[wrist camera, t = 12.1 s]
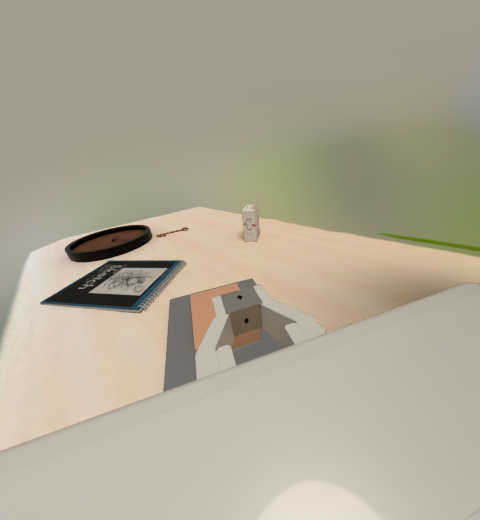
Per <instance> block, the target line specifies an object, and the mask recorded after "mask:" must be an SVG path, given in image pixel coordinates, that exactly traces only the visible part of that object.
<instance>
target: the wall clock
mask: <svg viewBox="0 0 480 520" xmlns="http://www.w3.org/2000/svg"><path fill="white" fill-rule="evenodd" d="M151 239H152V234H151V231H150V228H149V227H148V226H145V225H129V226H122V227H116V228H112V229H107V230H103V231H100V232H96V233H93V234H90V235H87V236H85V237H82V238H80V239H78V240H76V241H74V242H72V243H70V244H69V245H68V246H67V247H66V248H65V252H66V253H67V255H68V256H69V258H70V259H71V260H72V261H75V262H92V261H99V260H104V259H108V258H112V257H116V256H119V255H122V254H125V253H128V252H130V251H133V250H135V249H137V248H139V247H141V246H143V245H145V244H146V243H148V242H149V241H150V240H151Z"/></svg>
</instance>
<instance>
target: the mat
mask: <svg viewBox="0 0 480 520" xmlns="http://www.w3.org/2000/svg"><path fill="white" fill-rule="evenodd" d="M236 283H237V285H238V287H239V289H240V290H242V289H245V288H249V287H252V286H255V285H256V283H255V282H254V280H253V279H248V280H244V281H240V282H236ZM232 284H235V283H232ZM228 285H231V284H228ZM225 286H227V285H225ZM221 287H223V286H221ZM217 288H219V287H217ZM213 289H216V288H213ZM209 290H212V289H209ZM205 291H208V290H205ZM201 292H204V291H201ZM198 293H200V292H198ZM194 294H196V293H194ZM190 295H193V294H190ZM190 295H186V296H182V297H178V298H175V299H171V300H170V308H169V322H168V336H167V351H166V365H165V380H164V392H165V391H167V390H170V389H173V388H176V387H178V386H181V385H184V384H187V383H189V382H192V381H195V380H197V374H196V360H195V354H196V352H195V346H194V334H193V323H192V311H191V299H190ZM284 346H285V344H283V343H282V342H281V341H279V340H278V339H276V338H275V337H274V336H272V335H271V334H269V333H268V332H266V331H265V330H264V329H262V328H260V342H257V343H254V344H251V345H248V346H245V347H242V348H239V349H236V350H233V351H232V352H233V356H234V359H235V363H236V365H239V364H242V363H245V362H247V361H250V360H253V359H256V358H258V357H261V356H264V355H267V354H269V353H272V352H275V351H278V350H280V349H283V348H284Z"/></svg>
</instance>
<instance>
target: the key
mask: <svg viewBox="0 0 480 520" xmlns="http://www.w3.org/2000/svg"><path fill="white" fill-rule="evenodd" d="M184 229H187V230H188V228H183V229H181V230H176V231H172V232H168V233H164V234H160V235H156V236H158V238H159V237H164V236H166V234H170V233H174V232H178V231H187V230H184ZM161 235H163V236H161Z"/></svg>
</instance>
